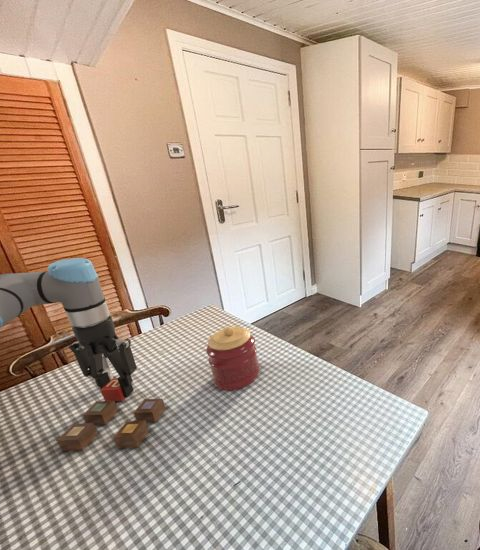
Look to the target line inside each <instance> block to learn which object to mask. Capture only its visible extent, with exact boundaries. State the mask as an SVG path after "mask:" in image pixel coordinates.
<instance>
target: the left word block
mask: <svg viewBox="0 0 480 550" xmlns="http://www.w3.org/2000/svg"><path fill="white" fill-rule="evenodd" d="M118 412H119V408H118V406H117V404H116V401H105V400H100V401H99V400H97V401H95V402H94V403H93V404H92V405H91V406H90V407H89V408H88V409H87V410H86V411H84V413H83V414H82V415H81V416H82V418H83V420H84V423H93V424H94V426H106V425H107V424H108V423H109V422H110V421H111V420H112V418H114V416H115V415H116V414H117V413H118Z"/></svg>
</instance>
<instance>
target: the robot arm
mask: <svg viewBox="0 0 480 550" xmlns="http://www.w3.org/2000/svg"><path fill="white" fill-rule="evenodd" d="M57 303H60V304H61V305H62V307H63V310H64V312H65V314H66V317H67V320H68V322H69V325H70V326H72V327H71V329H72V331H73V334H74V337H75V339H76V341H74V342H72V344H70V345H69V346H68V348H69V349H70V351H71V352H72V353H73V354H74V357H75V359H76V361H77V363H78V365H79V368H80V370H81V373H82V374H83V376H84V377H85V378H88V377H91V378H92V379H93V380H94V381H95V384H96V386H97V387H98V388H100V390H101V389H102V388H103V387H104V386H105V385H106V384H107V383H108V382H109V381H110V378H109V375H108V373H107V372H104V371H105V370H106V369H105V370H104V369H103V359H102V356H104V357H105V358H107V360H108V362H109V363H110V364H111V365H112V367H113V369H114V370H115V371H116V373H117V374H118V377H116V378H117V379H118V382H119V384H120V387H121V389H122V392H123V395H124V398H125V399H128V398H129V397H130V395H131V394H132V393H133V392H134V387H133V382H134V381H133V377H132V374H134V372H136V371H137V369H138V367H137V364H136V361H135V358H134V355H133V351H132V347H131V344H132V339H130V338H126V339H125V340H124V339H120V338H119V336H118V335H116V333H115V330H116V326H115V323H114V320H113V317H112V316H111V312H110V309H109V306H108V303H107V301H106V298H105V296H104V292H103V289H102V285H101V283H100V279H99V274H98V273H97V271H96V269H95V267H94V265H93V263H92V261H91V260H90V259H88V258H85V257H73V258H68V259H60V260H57V261H54V262H52V263H50V264H49V265H48V266H47V270H45V271H33V272H32V271H31V272H19V273H2V274H0V329H1V328H3V327H5V326H6V325H7V324H8V323H10V322H11V321H13V320H14V319H16V318H17V317H19V316H20V315H22V314H23V313H25V312H26V311H28V310H30V309H31V308H33V307H35V306H42V305H49V304H57ZM103 372H104V373H103Z"/></svg>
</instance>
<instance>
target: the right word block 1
mask: <svg viewBox="0 0 480 550" xmlns="http://www.w3.org/2000/svg"><path fill="white" fill-rule="evenodd" d="M149 432H150V428H149V425H148V423H146V420H145V421H136V420H128V421H125V422H124V424H123V425H122V426H121V427H120V428H119V429H118V431H117V432H116V433H115V434H114V436H113V437H112V438H113V441H114V443H115V446H116V448H117V449H133V448H134V449H135V448H139V447H140V445H141V444H142V443H143V441H144V440H145V438H146V437H147V436H148V434H149Z"/></svg>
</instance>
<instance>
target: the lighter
mask: <svg viewBox="0 0 480 550" xmlns="http://www.w3.org/2000/svg"><path fill="white" fill-rule="evenodd" d="M102 359H103V369H104V370H105V369H106V370H105V371H104V372H107V373H108V375H109V378H110V380H111V379H112V378H114V375H113V373H112V371H111V366H110V362H109V359H108V358H105V357H104V355H102ZM104 372H103V373H104Z"/></svg>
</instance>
